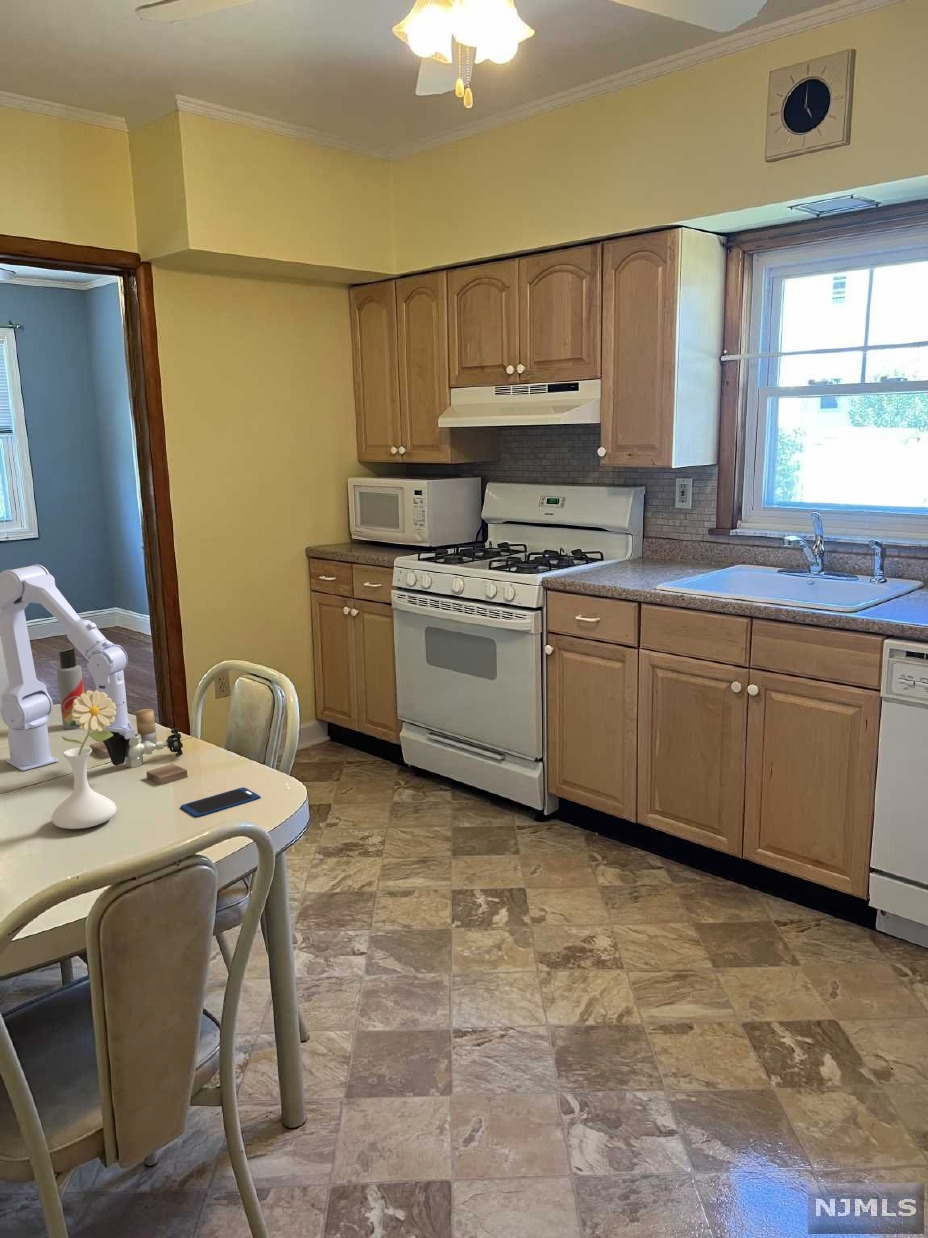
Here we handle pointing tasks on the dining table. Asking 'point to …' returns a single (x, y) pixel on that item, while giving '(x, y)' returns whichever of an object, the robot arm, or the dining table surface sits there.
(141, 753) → the valve
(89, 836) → the dining table surface
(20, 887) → the dining table surface
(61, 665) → the lotion bottle
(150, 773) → the blocks
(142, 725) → the marker peg
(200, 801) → the cell phone
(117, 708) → the robot arm
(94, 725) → the flower in vase
